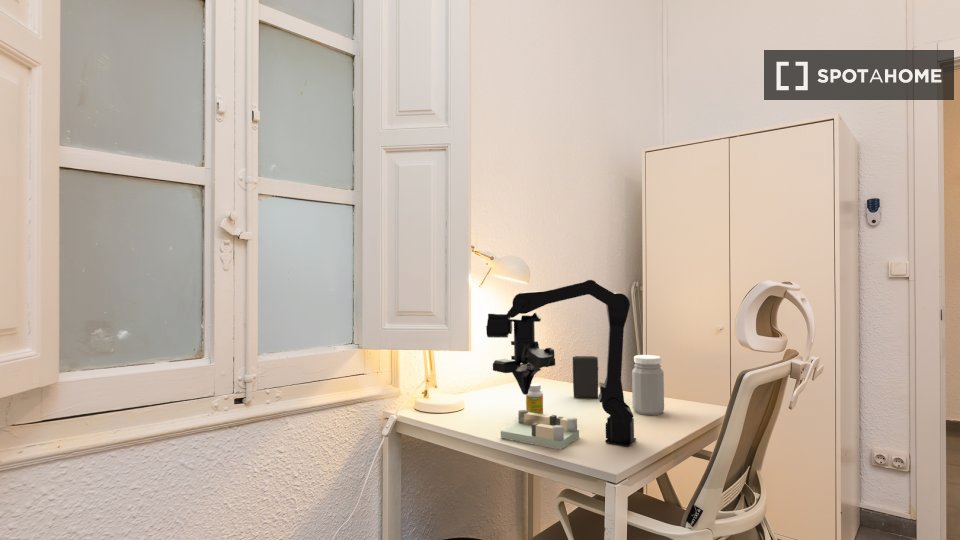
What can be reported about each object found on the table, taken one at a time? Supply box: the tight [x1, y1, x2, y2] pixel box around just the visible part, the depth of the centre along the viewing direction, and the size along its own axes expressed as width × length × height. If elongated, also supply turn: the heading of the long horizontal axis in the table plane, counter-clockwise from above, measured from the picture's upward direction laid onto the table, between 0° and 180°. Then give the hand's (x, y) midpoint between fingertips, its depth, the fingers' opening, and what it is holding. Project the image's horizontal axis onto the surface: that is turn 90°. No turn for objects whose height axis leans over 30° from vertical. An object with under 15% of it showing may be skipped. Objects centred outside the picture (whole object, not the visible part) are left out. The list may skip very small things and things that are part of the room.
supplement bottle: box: [525, 383, 544, 414], centre depth 162 cm, size 5×5×10 cm
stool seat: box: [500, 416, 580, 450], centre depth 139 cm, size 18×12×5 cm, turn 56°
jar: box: [631, 354, 665, 416], centre depth 164 cm, size 10×10×18 cm
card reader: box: [572, 355, 599, 399], centre depth 185 cm, size 9×4×15 cm, turn 82°
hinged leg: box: [517, 409, 558, 426], centre depth 144 cm, size 12×3×3 cm, turn 56°
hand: (525, 394), depth 139 cm, fingers closed
